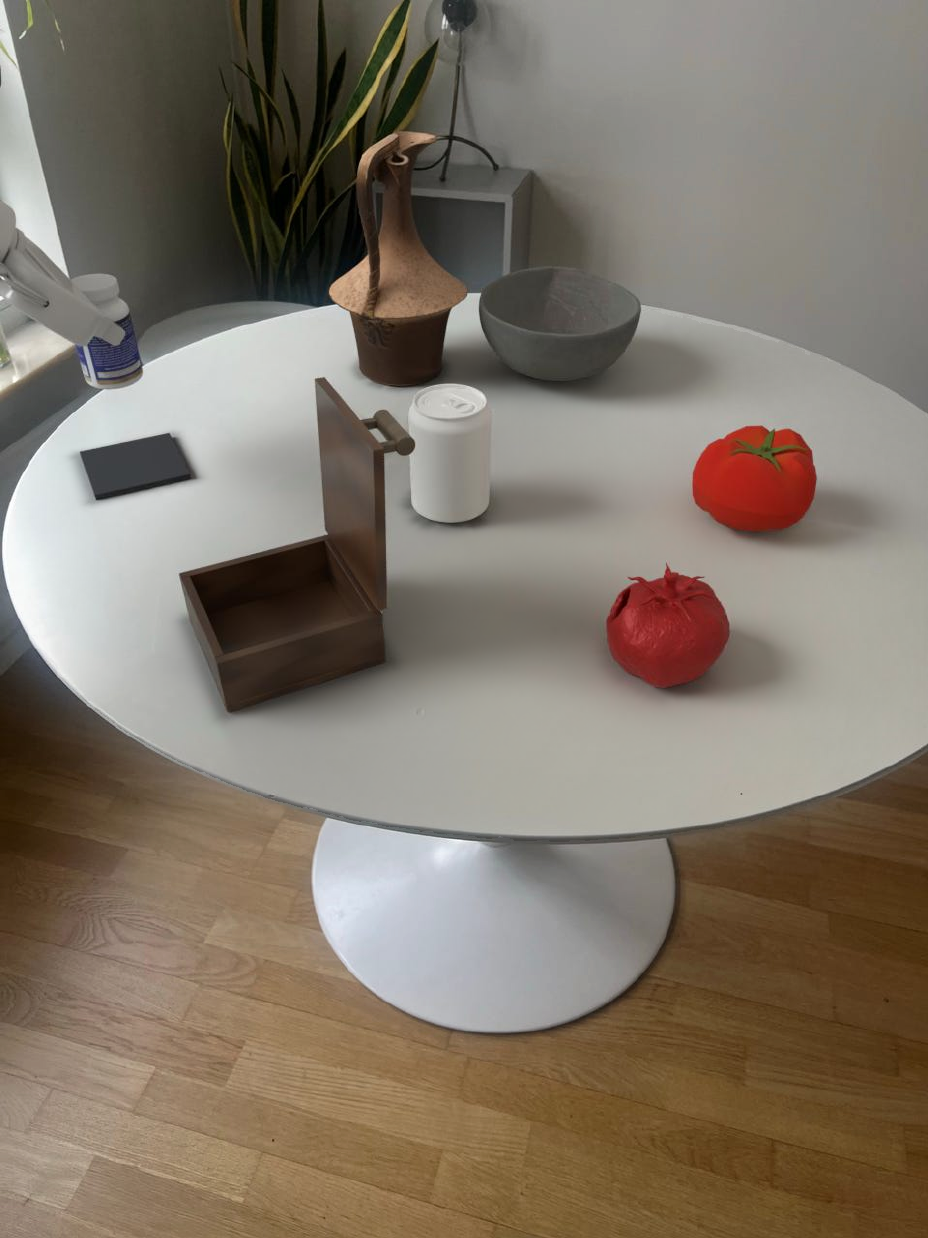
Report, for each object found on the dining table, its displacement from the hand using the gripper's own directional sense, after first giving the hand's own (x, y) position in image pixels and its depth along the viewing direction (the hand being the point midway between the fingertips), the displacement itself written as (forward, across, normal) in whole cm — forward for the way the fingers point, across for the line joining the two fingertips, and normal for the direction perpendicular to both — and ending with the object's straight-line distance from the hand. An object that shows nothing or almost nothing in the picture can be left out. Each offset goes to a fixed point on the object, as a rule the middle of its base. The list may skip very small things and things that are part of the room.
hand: (107, 324), depth 92 cm
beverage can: (+29, -25, -5) cm, 38 cm away
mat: (+11, +1, +12) cm, 17 cm away
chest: (+12, -34, +11) cm, 38 cm away
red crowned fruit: (+30, -54, -7) cm, 62 cm away
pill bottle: (+4, 0, +4) cm, 6 cm away
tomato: (+46, -43, -23) cm, 67 cm away
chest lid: (+7, -35, -3) cm, 36 cm away
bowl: (+49, -6, -26) cm, 56 cm away
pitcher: (+38, +6, -14) cm, 40 cm away
